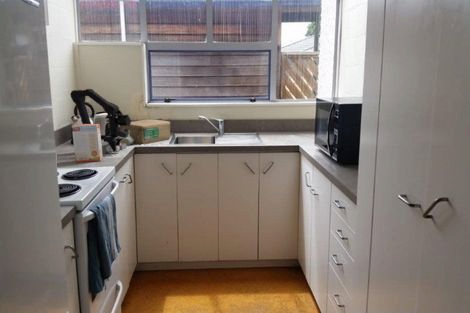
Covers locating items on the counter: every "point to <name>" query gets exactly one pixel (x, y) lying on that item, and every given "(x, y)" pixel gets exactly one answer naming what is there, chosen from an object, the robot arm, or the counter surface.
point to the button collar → (122, 146)
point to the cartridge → (109, 149)
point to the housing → (104, 148)
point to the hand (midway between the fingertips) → (116, 150)
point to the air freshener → (127, 140)
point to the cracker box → (87, 142)
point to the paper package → (148, 131)
